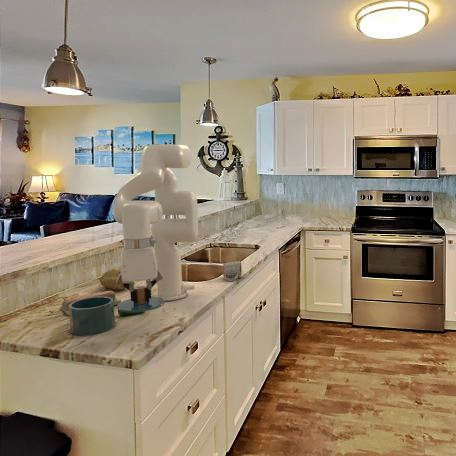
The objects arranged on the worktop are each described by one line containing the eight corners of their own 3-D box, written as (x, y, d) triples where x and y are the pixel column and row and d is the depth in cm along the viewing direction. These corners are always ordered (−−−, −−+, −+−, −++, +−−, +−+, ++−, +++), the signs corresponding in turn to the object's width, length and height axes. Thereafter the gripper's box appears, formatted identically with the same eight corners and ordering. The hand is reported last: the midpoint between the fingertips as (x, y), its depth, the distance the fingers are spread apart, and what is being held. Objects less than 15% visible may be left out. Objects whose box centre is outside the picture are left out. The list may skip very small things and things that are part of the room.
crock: (114, 318, 143) (112, 294, 141) (115, 330, 132) (113, 305, 130) (72, 324, 137) (70, 299, 136) (69, 338, 126) (67, 311, 125)
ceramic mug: (224, 275, 198) (224, 260, 197) (242, 275, 199) (241, 259, 198) (221, 282, 188) (221, 265, 187) (240, 281, 189) (239, 265, 187)
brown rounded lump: (103, 285, 187) (91, 288, 168) (106, 267, 188) (95, 269, 169) (134, 288, 190) (126, 291, 171) (137, 271, 191) (129, 273, 172)
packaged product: (67, 303, 143) (59, 297, 150) (68, 316, 144) (60, 309, 151) (120, 292, 156) (111, 286, 163) (121, 304, 157) (112, 298, 164)
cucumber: (145, 310, 150) (145, 302, 150) (146, 313, 147) (146, 304, 147) (117, 314, 146) (117, 306, 146) (118, 317, 143) (117, 308, 143)
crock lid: (162, 297, 137) (161, 279, 136) (167, 309, 125) (166, 290, 124) (116, 303, 131) (115, 284, 130) (118, 317, 119) (116, 296, 118)
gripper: (164, 239, 132) (167, 295, 135) (107, 244, 125) (111, 302, 127) (167, 243, 125) (170, 301, 128) (107, 248, 118) (112, 309, 121)
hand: (141, 301), depth 128 cm, fingers closed on crock lid, 3 cm apart
